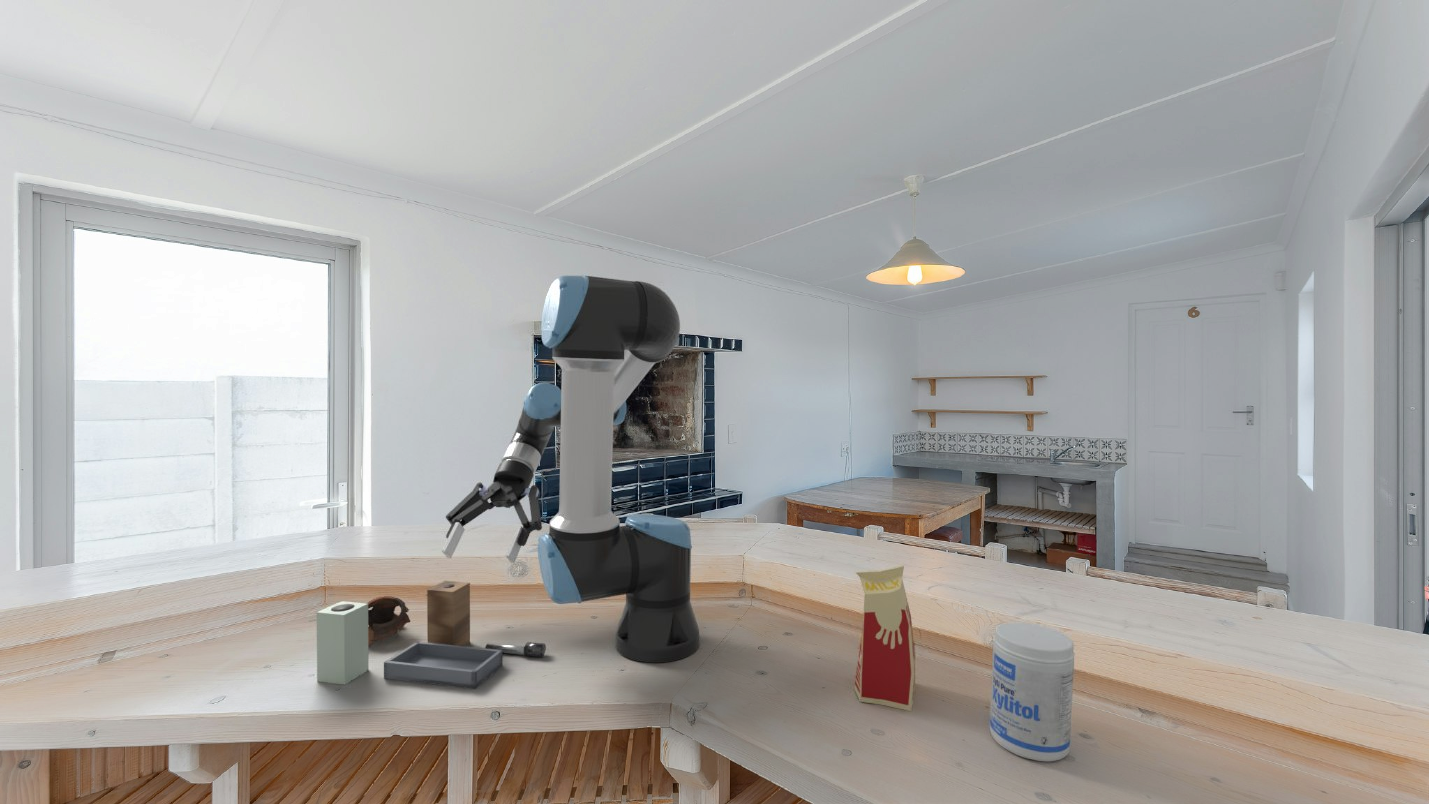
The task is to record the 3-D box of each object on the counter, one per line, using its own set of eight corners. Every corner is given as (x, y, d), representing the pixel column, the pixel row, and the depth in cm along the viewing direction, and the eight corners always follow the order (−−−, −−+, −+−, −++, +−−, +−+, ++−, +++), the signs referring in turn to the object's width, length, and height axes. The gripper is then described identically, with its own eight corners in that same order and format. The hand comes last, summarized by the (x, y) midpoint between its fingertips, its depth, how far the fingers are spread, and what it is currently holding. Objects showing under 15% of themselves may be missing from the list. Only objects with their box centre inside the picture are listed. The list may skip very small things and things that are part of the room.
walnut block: (470, 642, 111) (469, 582, 111) (453, 654, 106) (453, 591, 106) (445, 640, 112) (445, 580, 112) (427, 651, 107) (427, 589, 107)
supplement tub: (980, 744, 81) (983, 635, 81) (1000, 715, 88) (1003, 614, 88) (1062, 775, 75) (1066, 657, 74) (1077, 741, 82) (1081, 633, 82)
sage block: (368, 670, 100) (368, 603, 100) (344, 684, 95) (344, 614, 95) (342, 667, 101) (341, 600, 101) (317, 681, 96) (316, 612, 96)
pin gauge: (545, 653, 107) (545, 641, 107) (539, 659, 105) (539, 646, 105) (490, 648, 109) (490, 636, 109) (483, 653, 107) (483, 641, 107)
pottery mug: (419, 626, 120) (420, 597, 116) (392, 667, 111) (393, 637, 107) (358, 611, 119) (357, 581, 115) (327, 651, 111) (325, 620, 107)
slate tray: (502, 665, 102) (502, 650, 102) (474, 688, 94) (474, 672, 94) (417, 656, 105) (417, 641, 105) (383, 678, 98) (383, 662, 97)
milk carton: (915, 683, 98) (917, 559, 97) (914, 712, 89) (916, 576, 88) (857, 673, 101) (859, 553, 100) (850, 701, 92) (852, 569, 91)
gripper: (576, 481, 133) (543, 571, 119) (472, 476, 138) (429, 562, 123) (565, 460, 127) (530, 551, 113) (458, 456, 132) (411, 542, 118)
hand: (477, 557), depth 118 cm, fingers open, 13 cm apart
